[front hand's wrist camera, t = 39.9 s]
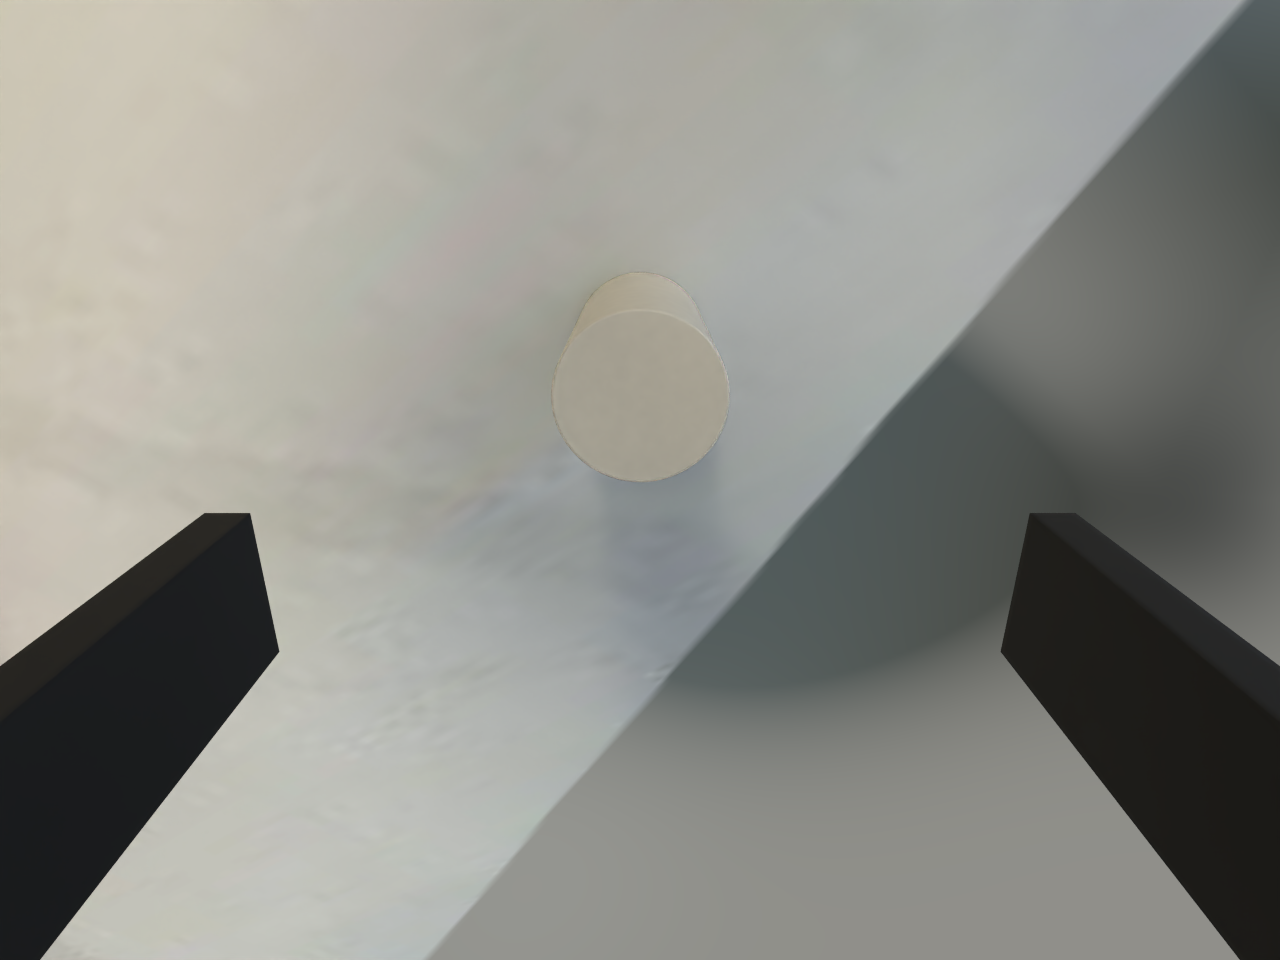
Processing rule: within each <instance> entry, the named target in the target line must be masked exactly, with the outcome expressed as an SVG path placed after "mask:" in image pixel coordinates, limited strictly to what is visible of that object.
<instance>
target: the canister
mask: <svg viewBox="0 0 1280 960" xmlns="http://www.w3.org/2000/svg"><path fill="white" fill-rule="evenodd" d="M551 402H552V409H553V414H554V418H555V421H556V425H557V427H558V429H559V431H560V434H561V436H562V437H563V439H564V441H565V442H566V444H567V445H568V446H569V448H570V449H571V450H572V451H573V453H574V454H575V455H576V456H577V457H578V458H579V459H581V460H582V461H583V462H584V463H586V464H587V465H588V466H590V467H591V468H593V469H595V470H596V471H598V472H600V473H602V474H604V475H607V476H609V477H612V478H616V479H619V480H624V481H631V482H650V481H657V480H662V479H666V478H669V477H672V476H675V475H677V474H679V473H681V472H683V471H685V470H687V469H688V468H690V467H691V466H693V465H694V464H696V463H697V462H698V461H699V460H700V459H702V458H703V457H704V456H705V455H706V454H707V453H708V451H709V450H710V449H711V448H712V447H713V445H714V444H715V442H716V441H717V439H718V438H719V436H720V434H721V432H722V430H723V427H724V425H725V422H726V419H727V415H728V410H729V402H730V388H729V381H728V376H727V372H726V369H725V366H724V363H723V361H722V359H721V357H720V354H719V352H718V350H717V348H716V346H715V344H714V342H713V340H712V338H711V336H710V333H709V331H708V329H707V327H706V325H705V323H704V321H703V319H702V317H701V314H700V312H699V310H698V308H697V306H696V304H695V303H694V301H693V300H692V298H691V297H690V296H689V294H688V293H687V292H686V291H685V290H684V289H683V288H681V287H680V286H679V285H678V284H676V283H675V282H673V281H672V280H670V279H668V278H665V277H663V276H660V275H657V274H652V273H645V272H636V273H628V274H624V275H621V276H618V277H615V278H613V279H611V280H609V281H608V282H606V283H605V284H603V285H602V286H600V287H599V288H598V289H597V290H596V291H595V292H594V293H593V294H592V295H591V297H590V298H589V299H588V301H587V303H586V304H585V306H584V308H583V310H582V312H581V314H580V316H579V318H578V321H577V323H576V325H575V327H574V329H573V331H572V333H571V335H570V338H569V340H568V342H567V344H566V346H565V348H564V350H563V353H562V355H561V357H560V359H559V362H558V364H557V366H556V369H555V373H554V377H553V381H552V389H551Z"/></svg>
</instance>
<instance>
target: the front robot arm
mask: <svg viewBox="0 0 1280 960" xmlns="http://www.w3.org/2000/svg"><path fill="white" fill-rule="evenodd" d="M278 653H279V648H278V643H277V638H276V634H275V629H274V624H273V619H272V615H271V610H270V605H269V600H268V596H267V591H266V586H265V582H264V577H263V572H262V567H261V563H260V558H259V553H258V548H257V544H256V539H255V534H254V529H253V525H252V520H251V515H250V513H204V514H203V515H202V516H200V517H199V518H198V519H196V520H195V521H193V522H192V523H191V524H189V525H188V526H187V527H185V528H184V529H183V530H181V531H180V532H179V533H177V534H176V535H175V536H173V537H172V538H171V539H169V540H168V541H167V542H165V543H164V544H163V545H161V546H160V547H159V548H157V549H156V550H155V551H153V552H152V553H151V554H149V555H148V556H147V557H145V558H144V559H143V560H141V561H140V562H139V563H137V564H136V565H135V566H133V567H132V568H131V569H129V570H128V571H127V572H125V573H124V574H123V575H121V576H120V577H119V578H117V579H116V580H115V581H113V582H112V583H111V584H109V585H108V586H107V587H105V588H104V589H103V590H101V591H100V592H99V593H97V594H96V595H95V596H93V597H92V598H91V599H89V600H88V601H87V602H85V603H84V604H83V605H81V606H80V607H79V608H77V609H76V610H75V611H73V612H72V613H71V614H69V615H68V616H67V617H65V618H64V619H63V620H61V621H60V622H59V623H57V624H56V625H55V626H53V627H52V628H51V629H49V630H48V631H47V632H45V633H44V634H43V635H41V636H40V637H39V638H37V639H36V640H35V641H33V642H32V643H31V644H29V645H28V646H27V647H25V648H24V649H23V650H21V651H20V652H19V653H17V654H16V655H15V656H13V657H12V658H11V659H9V660H8V661H7V662H5V663H4V664H3V665H1V666H0V960H40V959H41V958H42V957H43V955H44V954H45V953H46V951H47V950H48V949H49V948H50V946H51V945H52V944H53V942H54V941H55V940H56V939H57V937H58V936H59V935H60V933H61V932H62V931H63V930H64V928H65V927H66V926H67V924H68V923H69V922H70V921H71V919H72V918H73V917H74V915H75V914H76V913H77V912H78V910H79V909H80V908H81V906H82V905H83V904H84V903H85V901H86V900H87V899H88V897H89V896H90V895H91V894H92V892H93V891H94V890H95V888H96V887H97V886H98V885H99V883H100V882H101V881H102V879H103V878H104V877H105V876H106V874H107V873H108V872H109V870H110V869H111V868H112V866H113V865H114V864H115V863H116V861H117V860H118V859H119V857H120V856H121V855H122V854H123V852H124V851H125V850H126V848H127V847H128V846H129V845H130V843H131V842H132V841H133V839H134V838H135V837H136V836H137V834H138V833H139V832H140V830H141V829H142V828H143V827H144V825H145V824H146V823H147V821H148V820H149V819H150V818H151V816H152V815H153V814H154V812H155V811H156V810H157V809H158V807H159V806H160V805H161V803H162V802H163V801H164V800H165V798H166V797H167V796H168V794H169V793H170V792H171V791H172V789H173V788H174V787H175V785H176V784H177V783H178V781H179V780H180V779H181V778H182V776H183V775H184V774H185V772H186V771H187V770H188V769H189V767H190V766H191V765H192V763H193V762H194V761H195V760H196V758H197V757H198V756H199V754H200V753H201V752H202V751H203V749H204V748H205V747H206V745H207V744H208V743H209V742H210V740H211V739H212V738H213V736H214V735H215V734H216V733H217V731H218V730H219V729H220V727H221V726H222V725H223V724H224V722H225V721H226V720H227V718H228V717H229V716H230V715H231V713H232V712H233V711H234V709H235V708H236V707H237V705H238V704H239V703H240V702H241V700H242V699H243V698H244V696H245V695H246V694H247V693H248V691H249V690H250V689H251V687H252V686H253V685H254V684H255V682H256V681H257V680H258V678H259V677H260V676H261V675H262V673H263V672H264V671H265V669H266V668H267V667H268V666H269V664H270V663H271V662H272V660H273V659H274V658H275V657H276V655H277V654H278ZM1001 653H1002V654H1003V655H1004V656H1005V658H1006V659H1007V660H1008V662H1009V663H1010V664H1011V666H1012V667H1013V668H1014V669H1015V671H1016V672H1017V673H1018V675H1019V676H1020V677H1021V678H1022V680H1023V681H1024V682H1025V684H1026V685H1027V686H1028V687H1029V689H1030V690H1031V691H1032V693H1033V694H1034V695H1035V696H1036V698H1037V699H1038V700H1039V702H1040V703H1041V704H1042V705H1043V707H1044V708H1045V709H1046V711H1047V712H1048V713H1049V715H1050V716H1051V717H1052V718H1053V720H1054V721H1055V722H1056V724H1057V725H1058V726H1059V727H1060V729H1061V730H1062V731H1063V733H1064V734H1065V735H1066V736H1067V738H1068V739H1069V740H1070V742H1071V743H1072V744H1073V745H1074V747H1075V748H1076V749H1077V751H1078V752H1079V753H1080V754H1081V756H1082V757H1083V758H1084V760H1085V761H1086V762H1087V763H1088V765H1089V766H1090V767H1091V769H1092V770H1093V771H1094V772H1095V774H1096V775H1097V776H1098V778H1099V779H1100V780H1101V781H1102V783H1103V784H1104V785H1105V787H1106V788H1107V789H1108V790H1109V792H1110V793H1111V794H1112V796H1113V797H1114V798H1115V799H1116V801H1117V802H1118V803H1119V805H1120V806H1121V807H1122V809H1123V810H1124V811H1125V812H1126V814H1127V815H1128V816H1129V818H1130V819H1131V820H1132V821H1133V823H1134V824H1135V825H1136V826H1137V828H1138V829H1139V830H1140V832H1141V833H1142V834H1143V836H1144V837H1145V838H1146V839H1147V841H1148V842H1149V843H1150V845H1151V846H1152V847H1153V848H1154V850H1155V851H1156V852H1157V854H1158V855H1159V856H1160V857H1161V859H1162V860H1163V861H1164V863H1165V864H1166V865H1167V866H1168V868H1169V869H1170V870H1171V872H1172V873H1173V874H1174V875H1175V877H1176V878H1177V879H1178V881H1179V882H1180V883H1181V885H1182V886H1183V887H1184V888H1185V890H1186V891H1187V892H1188V893H1189V895H1190V896H1191V897H1192V899H1193V900H1194V901H1195V903H1196V904H1197V905H1198V906H1199V908H1200V909H1201V910H1202V912H1203V913H1204V914H1205V915H1206V917H1207V918H1208V919H1209V921H1210V922H1211V923H1212V924H1213V926H1214V927H1215V928H1216V930H1217V931H1218V932H1219V933H1220V935H1221V936H1222V937H1223V939H1224V940H1225V941H1226V942H1227V944H1228V945H1229V946H1230V948H1231V949H1232V950H1233V951H1234V953H1235V954H1236V955H1237V957H1238V958H1239V959H1240V960H1280V666H1279V665H1277V664H1276V663H1275V662H1273V661H1272V660H1271V659H1269V658H1268V657H1267V656H1265V655H1264V654H1263V653H1261V652H1260V651H1259V650H1257V649H1256V648H1255V647H1253V646H1252V645H1251V644H1249V643H1248V642H1247V641H1245V640H1244V639H1243V638H1241V637H1240V636H1239V635H1237V634H1236V633H1235V632H1233V631H1232V630H1231V629H1229V628H1228V627H1227V626H1225V625H1224V624H1223V623H1221V622H1220V621H1219V620H1217V619H1216V618H1215V617H1213V616H1212V615H1211V614H1209V613H1208V612H1207V611H1205V610H1204V609H1203V608H1201V607H1200V606H1199V605H1197V604H1196V603H1195V602H1193V601H1192V600H1191V599H1189V598H1188V597H1187V596H1185V595H1184V594H1183V593H1181V592H1180V591H1179V590H1177V589H1176V588H1175V587H1173V586H1172V585H1171V584H1169V583H1168V582H1167V581H1165V580H1164V579H1163V578H1161V577H1160V576H1159V575H1157V574H1156V573H1155V572H1153V571H1152V570H1150V569H1149V568H1148V567H1147V566H1145V565H1144V564H1143V563H1141V562H1140V561H1139V560H1137V559H1136V558H1134V557H1133V556H1132V555H1130V554H1129V553H1128V552H1127V551H1125V550H1124V549H1122V548H1121V547H1120V546H1119V545H1117V544H1116V543H1115V542H1113V541H1112V540H1111V539H1109V538H1108V537H1107V536H1105V535H1104V534H1102V533H1101V532H1100V531H1098V530H1097V529H1096V528H1095V527H1093V526H1092V525H1091V524H1089V523H1088V522H1086V521H1085V520H1084V519H1082V518H1081V517H1080V516H1078V515H1077V514H1076V513H1030V515H1029V520H1028V525H1027V529H1026V534H1025V539H1024V544H1023V548H1022V553H1021V558H1020V563H1019V567H1018V572H1017V577H1016V582H1015V586H1014V591H1013V596H1012V601H1011V605H1010V610H1009V615H1008V620H1007V624H1006V629H1005V634H1004V638H1003V643H1002V648H1001Z"/></svg>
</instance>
